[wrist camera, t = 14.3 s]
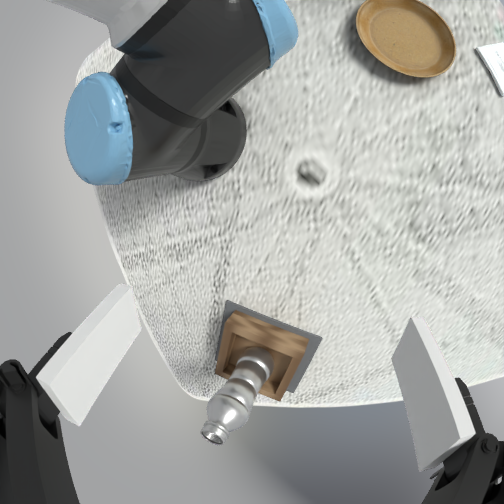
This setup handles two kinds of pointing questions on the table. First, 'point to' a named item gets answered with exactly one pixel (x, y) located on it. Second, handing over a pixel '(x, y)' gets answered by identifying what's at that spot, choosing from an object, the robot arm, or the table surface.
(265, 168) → the table surface
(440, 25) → the plant saucer
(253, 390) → the plastic bottle
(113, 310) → the robot arm
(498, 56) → the external hard drive
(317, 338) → the mat
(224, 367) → the wooden tray
